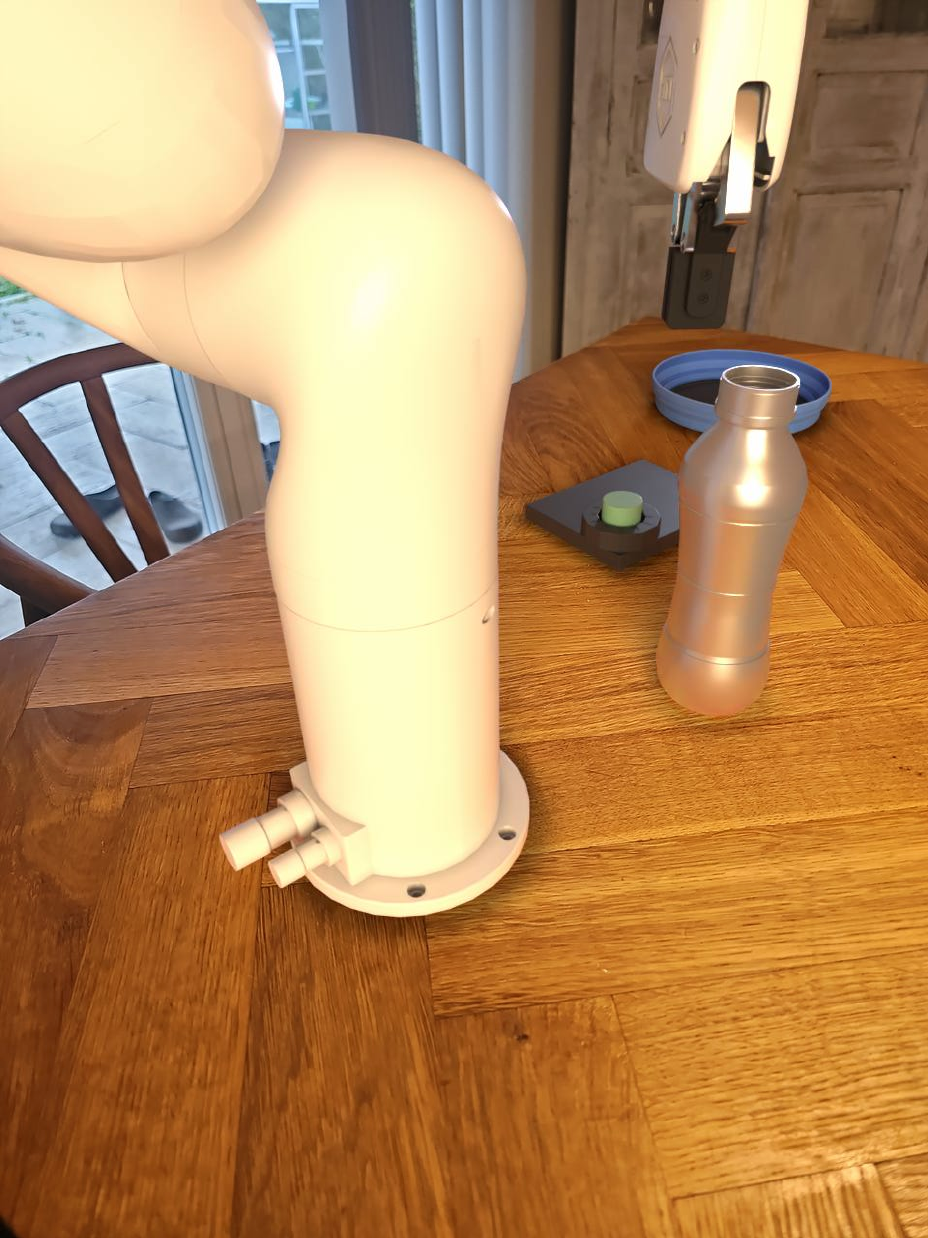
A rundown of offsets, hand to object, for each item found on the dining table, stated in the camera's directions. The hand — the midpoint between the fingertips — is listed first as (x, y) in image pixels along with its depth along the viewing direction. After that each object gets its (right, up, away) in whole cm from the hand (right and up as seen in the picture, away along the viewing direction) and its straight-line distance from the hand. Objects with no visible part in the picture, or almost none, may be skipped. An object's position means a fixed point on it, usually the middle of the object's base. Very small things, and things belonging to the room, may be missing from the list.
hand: (691, 324), depth 48 cm
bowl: (+16, +6, +43) cm, 46 cm away
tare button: (-1, -9, +18) cm, 20 cm away
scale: (+1, -8, +24) cm, 25 cm away
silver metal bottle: (+2, -21, +5) cm, 22 cm away
